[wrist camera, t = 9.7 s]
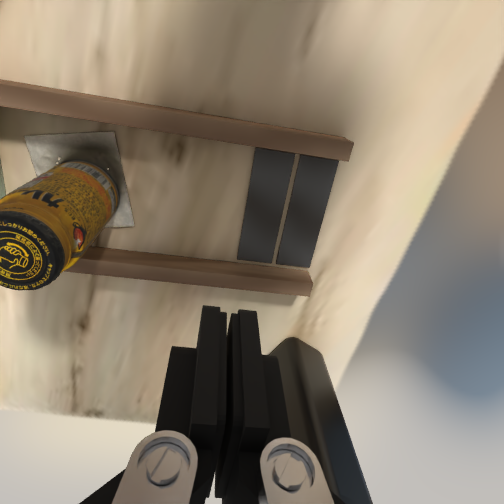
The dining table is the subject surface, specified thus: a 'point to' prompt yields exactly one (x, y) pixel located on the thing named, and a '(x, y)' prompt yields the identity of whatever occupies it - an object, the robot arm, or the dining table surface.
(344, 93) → the dining table surface
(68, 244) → the condiment
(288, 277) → the trap lane
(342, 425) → the wine bottle
